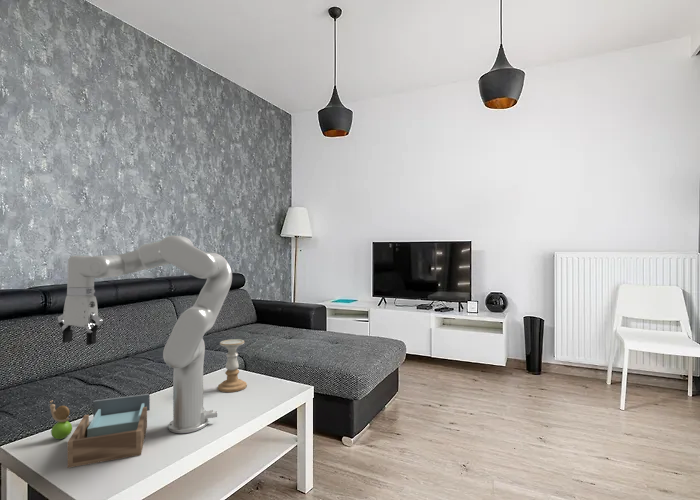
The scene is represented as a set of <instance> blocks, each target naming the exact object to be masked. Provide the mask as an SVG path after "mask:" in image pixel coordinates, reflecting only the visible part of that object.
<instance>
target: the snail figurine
mask: <svg viewBox="0 0 700 500" xmlns="http://www.w3.org/2000/svg"><path fill="white" fill-rule="evenodd" d="M53 402H54V400H52V399H51V400H50V401H49V403H50V404H49V408H50V413H51V416H52V419H53V420H55V421H56V423H55V424H54V425H53V426H52V428H51V432H50V434H51V436H52V437H53V439H56V440H63V439H65V438H67V437H69V436H70V434H71V433H72V431H73V425H72V423H71V422H70V421H69V420H70V417H69V415H70V408H69V407H67V406H66V405H59V406H58V407H57V408H56V404H54V403H53Z"/></svg>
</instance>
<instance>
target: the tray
mask: <svg viewBox="0 0 700 500" xmlns="http://www.w3.org/2000/svg"><path fill="white" fill-rule="evenodd" d="M150 397H151V396H150V393H144V394H136V395H135V394H134V395H130V396H129V395H128V396H120V397H111V398H104V399H96V400H93V417H92V420H91V421H90V422H89V427H88V428H87V438H88V437H94V436H101V435H107V434H114V433H120V432H127V431H133V430H137V427H138V424H139V420H140V416H141V413H142V409H143V407H147V412H149V411H150V408H151V407H150V405H151V404H150V403H151V402H150V401H151V399H150Z"/></svg>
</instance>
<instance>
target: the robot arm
mask: <svg viewBox="0 0 700 500" xmlns="http://www.w3.org/2000/svg"><path fill="white" fill-rule="evenodd" d="M166 265H167V266H168V265H173V266H174V267H175V268H178V269H180V270H182V271H184V272H186V273H187V274H189V275H191V276H193V277H195V278H197V279H204V280H206V281H205V284H204V285H203V287H202V288H201V290H200V292H199V293H198V294H199V295H198V296H197V298H196V300H195V302H194V304H193V305H192V306H191V307H189V308H187V309H186V310H185V311H183V312H182V313H181V314H180V315H179V317H178V318H177V320H176V321H175V322H176V323H175V324H174V327H173V328H172V331H171V333H170V334H169V337H168V339H167V341H166V343H165V345H164V349H163V350H162V351H163V352H162V358H163V361H164V363H165V364H166V365H167V366H168V367H170V368H172V369H173V376H172V377H173V379H172V380H173V382H172V384H173V385H172V390H173V391H172V392H173V393H172V395H173V396H172V401H173V403H172V404H173V405H172V412H173V413H172V414H173V416H172V421H170V422H169V423H168V425H167V427H168V429H167V430H169V431H170V432H171V433H174V434H175V433H176V434H186V433H187V434H188V433H193V432H196V431H199V430H202V429H203V428H205V427H206V426H207V425H208V424H209V419H215V418H218V411H214V410H213V409H211V410H205V407H204V363H205V361H204V360H205V353H206V352H205V351H206V346H205V345H206V344H205V340H204V335H206V333H207V332H208V331H209V330H211V329H212V327H214V325H215V323H216V320H217V318H218V316H219V314H220V312H221V309H222V307H223V304H224V302H225V301H226V297H227V296H228V293H229V291H230V288H231V286H232V281H233V271H232V267H231V266H230V263H228V260H227V259H226V258H225V257H224V256H222V255H221V254H219V253H216V252H206V251H203V250H201V249H200V248H197V247H195V245H194V243H193V241H191V239H189V237H187V236H183V235H168V236H166V237H163V238H162V239H161V240H159V241H155V242H149V243H144V244H141V245H139V248H138V249H135V250H132V251H129V252H124V253H121V254H113V255H93V256H92V255H72V256H70V257H68V260H67V282H66V283H67V287H66V288H67V289H66V296H65V301H64V306H63V313H62V314H61V315H59V316H57V321H58V325H59V326H60V331H62V343H63V344H64V343H65V344H66V343H71V342H72V341H73V334H74V333H73V327H79V328H85V329H86V330H87V333H86V342H85V343H86V346H90V345H95V344H96V343H97V332H98V331H99V329H100V328H101V326H102V323H103V322H104V320H103V319H102V318H101V317H100V316H99V309H98V307H99V306H98V300H97V297H96V296H95V293H96V289H95V279H106V278H114V277H119V276H124V275H129V274H132V273H137V272H140V271H147V270H150V269H155V268H159V267H163V266H166Z"/></svg>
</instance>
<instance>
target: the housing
mask: <svg viewBox="0 0 700 500" xmlns="http://www.w3.org/2000/svg"><path fill="white" fill-rule="evenodd" d="M89 425H90V414H85V415H83V417H82V418H81V420H80V421H79V423H78V425H77V426H76V428H75V429H74V431H73V433H72V435H71V436H70V438H69V439H68V441H67V468H69V469H70V468H73V467H80V466H85V465H90V464H92V465H93V464H96V463H101V462H103V463H104V462H109V461H114V460H119V459H125V458H132V457H137V456H142V452H143V448H144V442H145V439H146V438H145V437H146V432H147V429H148V411H147V407H143V409H142V413H141V416H140V420H139V424H138V427H137V430H133V431H127V432H120V433H114V434H107V435H101V436H94V437H88V438H87V428H88V427H89Z"/></svg>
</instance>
